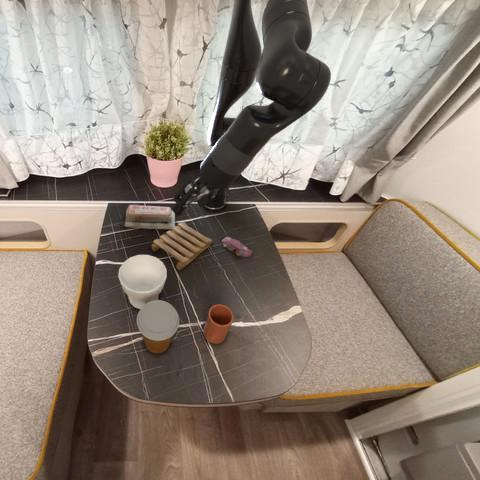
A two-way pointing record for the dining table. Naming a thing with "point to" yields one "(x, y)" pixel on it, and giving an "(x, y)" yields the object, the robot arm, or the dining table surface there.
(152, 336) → the disposable coffee cup
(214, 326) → the tumbler
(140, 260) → the cup
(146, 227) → the packaged product
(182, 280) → the dining table surface
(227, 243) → the pink oblong lump
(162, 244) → the wooden slatted trivet
